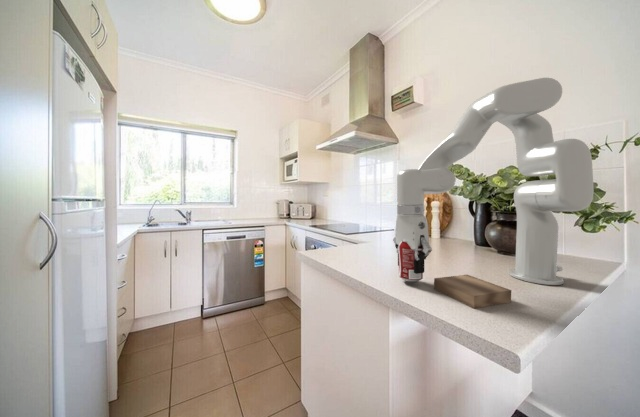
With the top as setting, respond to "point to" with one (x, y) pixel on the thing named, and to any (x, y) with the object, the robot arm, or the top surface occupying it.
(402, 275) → the soda can
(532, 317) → the top surface
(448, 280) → the base block
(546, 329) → the top surface
